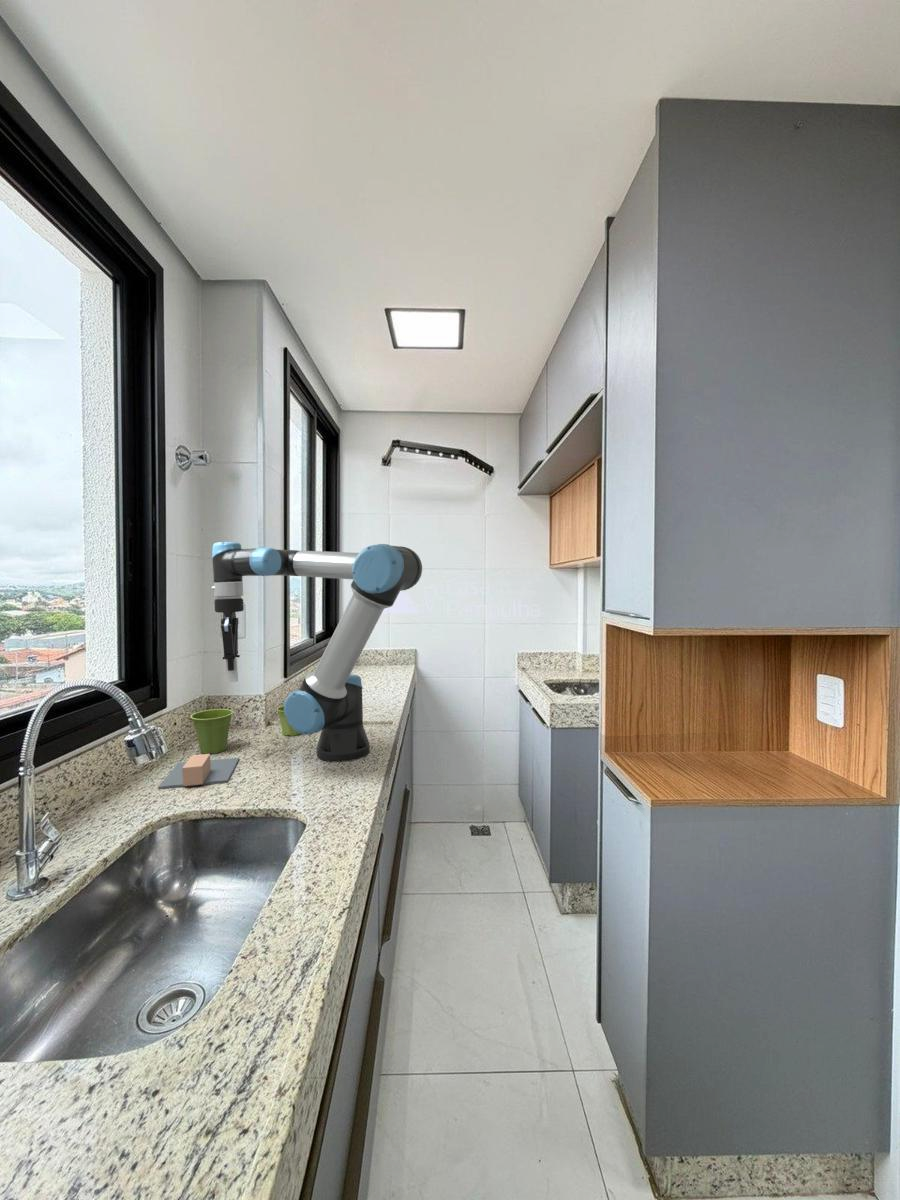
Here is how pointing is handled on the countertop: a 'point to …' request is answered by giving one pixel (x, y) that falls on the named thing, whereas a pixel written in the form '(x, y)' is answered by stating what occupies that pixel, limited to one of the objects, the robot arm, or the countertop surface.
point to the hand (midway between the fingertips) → (232, 681)
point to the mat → (218, 774)
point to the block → (196, 769)
